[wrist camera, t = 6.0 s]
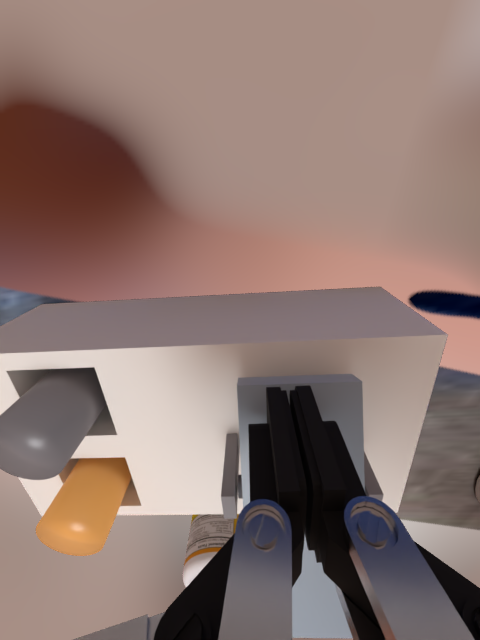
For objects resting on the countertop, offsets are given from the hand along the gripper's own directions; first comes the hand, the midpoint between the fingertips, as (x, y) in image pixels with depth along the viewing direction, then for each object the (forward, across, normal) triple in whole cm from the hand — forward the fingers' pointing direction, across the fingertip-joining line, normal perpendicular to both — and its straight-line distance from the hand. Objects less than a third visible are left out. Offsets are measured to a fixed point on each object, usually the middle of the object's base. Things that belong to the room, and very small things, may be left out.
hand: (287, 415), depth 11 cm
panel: (+10, +4, +5) cm, 12 cm away
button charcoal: (+8, +11, +2) cm, 14 cm away
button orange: (+8, +11, +8) cm, 16 cm away
